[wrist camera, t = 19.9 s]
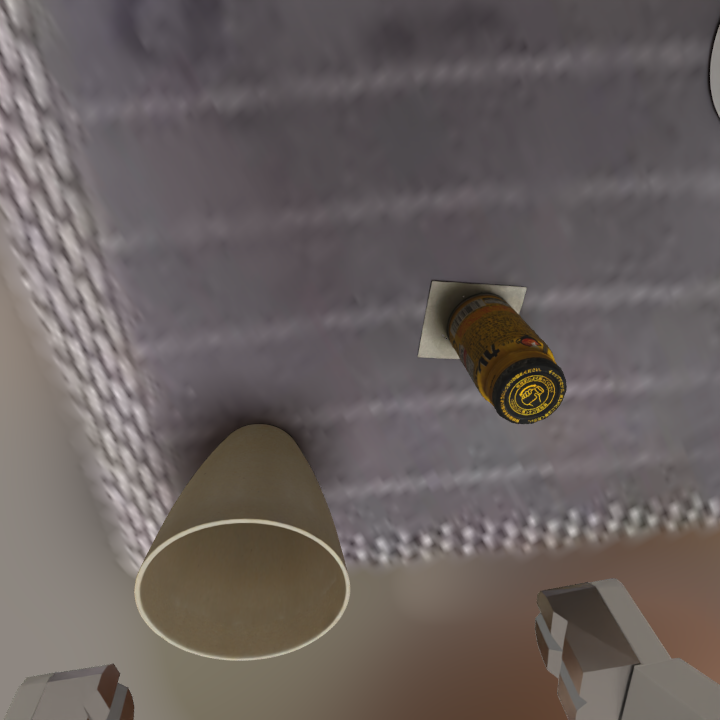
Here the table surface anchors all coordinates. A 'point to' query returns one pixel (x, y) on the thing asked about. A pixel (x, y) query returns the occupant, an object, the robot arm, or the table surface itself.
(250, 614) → the plant pot
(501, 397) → the condiment
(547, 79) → the table surface
